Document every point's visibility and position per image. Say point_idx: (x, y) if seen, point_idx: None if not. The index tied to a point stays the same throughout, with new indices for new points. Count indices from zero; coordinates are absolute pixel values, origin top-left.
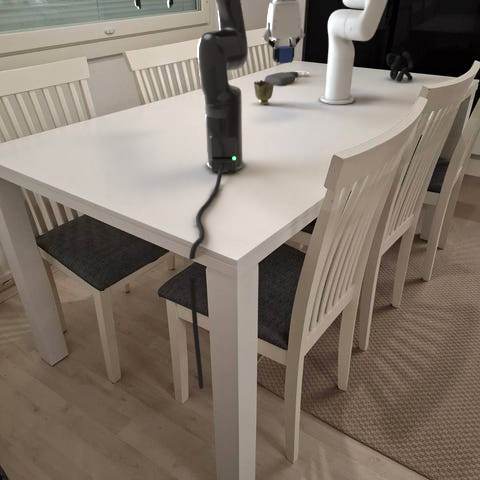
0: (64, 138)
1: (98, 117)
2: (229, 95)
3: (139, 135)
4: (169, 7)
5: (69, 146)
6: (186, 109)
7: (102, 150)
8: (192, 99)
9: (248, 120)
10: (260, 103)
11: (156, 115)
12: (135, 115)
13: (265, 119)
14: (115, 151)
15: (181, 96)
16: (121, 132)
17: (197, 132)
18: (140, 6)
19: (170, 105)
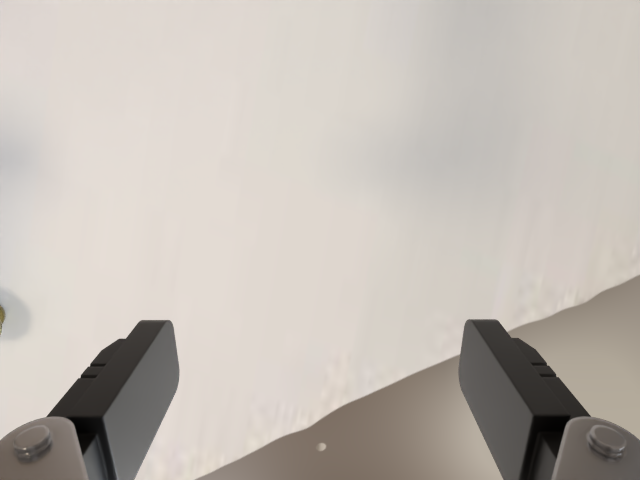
0: (601, 204)
1: None
2: None
3: (404, 153)
4: (167, 322)
5: (606, 129)
6: (231, 339)
7: (530, 56)
8: (200, 420)
9: (62, 174)
10: (1, 308)
11: (323, 314)
12: (379, 334)
13: (6, 164)
14: (498, 32)
15: (226, 455)
16: (446, 199)
17: (235, 116)
18: (481, 326)
19: (270, 388)
